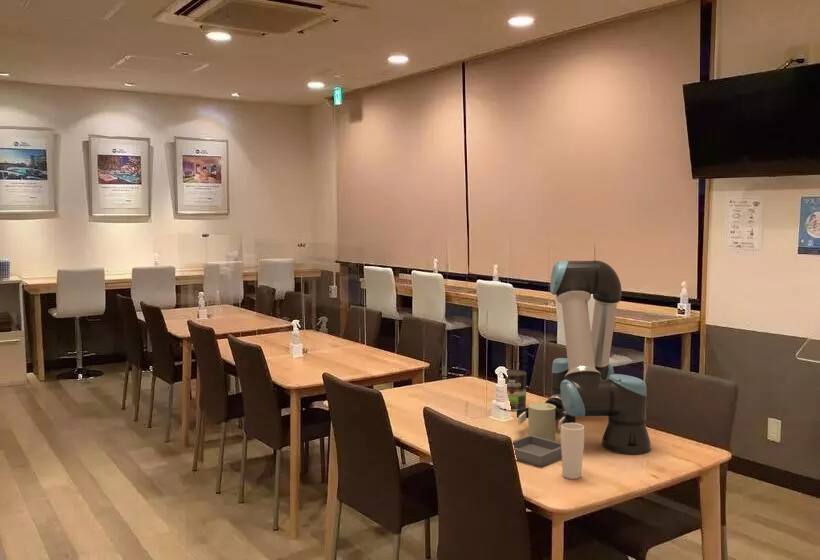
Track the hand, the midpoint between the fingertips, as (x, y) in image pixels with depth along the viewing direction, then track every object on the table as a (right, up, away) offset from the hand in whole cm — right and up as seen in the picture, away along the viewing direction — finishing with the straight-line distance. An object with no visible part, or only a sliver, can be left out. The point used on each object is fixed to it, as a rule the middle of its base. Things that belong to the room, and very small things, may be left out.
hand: (539, 423), depth 244 cm
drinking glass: (+4, -10, -30) cm, 32 cm away
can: (+1, -6, +3) cm, 7 cm away
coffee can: (-3, -3, +43) cm, 43 cm away
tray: (-4, -8, -13) cm, 15 cm away
